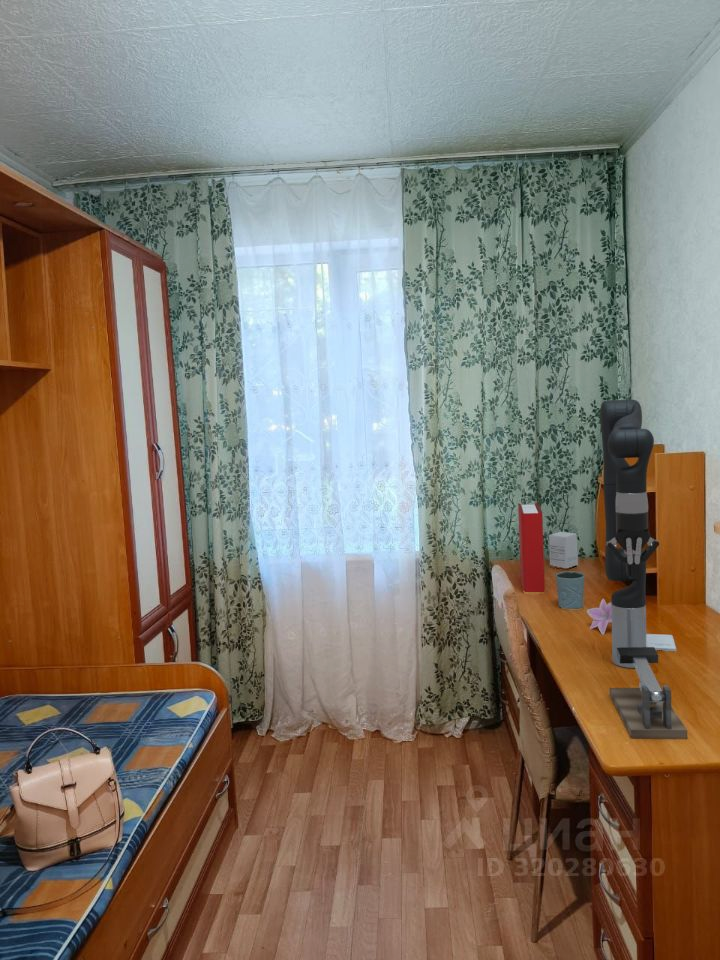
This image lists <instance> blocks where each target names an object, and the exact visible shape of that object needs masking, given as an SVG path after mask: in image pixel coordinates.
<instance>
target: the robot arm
mask: <svg viewBox="0 0 720 960" xmlns="http://www.w3.org/2000/svg"><path fill="white" fill-rule="evenodd" d="M599 416H600V417H599V420H600V431H601V432H600V433H601V439H602V440H601V442H602V444H601V445H602V455H603V458H602V459H603V503H604V516H605V519H604V520H605V542H604V543H605V547H604V549H605V550H604V551H605V552H604V568H605V575H606V578H607V580H609V581H613V582H632V583H631V584H630V585H628V586H626V587H624V588H622V589H619V590H616V591H613V593H612V594H611V597H610V603H611V613H612V624H611V647H612V648H611V653H612V655H611V656H612V663H613V664H614V665H616V666H619V667H621V668H628V669H633V668H635V667H634V665H633V663H622V664H620V662H619V660H618V657H617V648H620V647H646V634H647V605H646V604H647V603H646V601H647V599H646V597H647V596H646V594H647V593H646V584H647V583H646V581H647V578H646V577H647V561H648V560H649V558H650V557H651V555H653V554H654V552H655V551H656V550H657V548H658V547H659V546H660V542H659V541H658V540H656V539H654V538H653V537H651V533H650V531H649V501H648V500H649V499H648V492H647V473H648V467H649V462H650V458H651V456H652V452H653V449H654V443H655V439H654V435H653V433H652V432H651V431H650V430H649V429H648V428H642V424H643V411H642V406H641V404H640V402H639V401H638V400H636V399H630V398H629V399H615V400H614V399H612V400H605V401H603V402H601V404H600V410H599ZM630 458H633V459H634V458H637V461H636V462H635V463H634V464H632V465H630V464H629V463H628V461H627V459H630ZM646 544H647V546H646ZM618 545H620V548H619V547H618ZM645 546H646V548H645ZM644 548H645V549H644Z"/></svg>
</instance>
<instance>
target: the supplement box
mask: <svg viewBox="0 0 720 960" xmlns="http://www.w3.org/2000/svg"><path fill="white" fill-rule="evenodd" d="M548 546H549V547H548V548H549V566H550V565H553V566H557V567H562V568H569V567H572V566H575V565H578V566H579V559H578V556H579V555H578V533H575V532H566V531H559V532H555V533H551V534H549V535H548Z"/></svg>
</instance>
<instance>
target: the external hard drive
mask: <svg viewBox="0 0 720 960" xmlns="http://www.w3.org/2000/svg"><path fill="white" fill-rule="evenodd" d="M646 647H654V648H655V650H660V651H659V652H668V651H675V652H674V653H677V646H676V643H675V640H674V636H673V635H672V634H658V633H657V634H654V633H646ZM661 650H662V651H661Z"/></svg>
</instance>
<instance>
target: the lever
mask: <svg viewBox="0 0 720 960" xmlns="http://www.w3.org/2000/svg"><path fill="white" fill-rule="evenodd" d="M617 657H618V660H619V662H620V664H622V663H633V665H634V667H635V670H636V674H637V675H638V677H639V681H638V683H639V685H638V688H640V690H641V692H642V685H646V686H647V687H648V689H649V690H650V702H664V701H665V696H664V692H663V689H662V688H661V685H660V683H659V681H658V680H657V678H656V676H655V673H654V672H653V670H652V668H651V667H652V666H650V664H659V654H658V651H656V650H655V648H654V647H620V648H617Z"/></svg>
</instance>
